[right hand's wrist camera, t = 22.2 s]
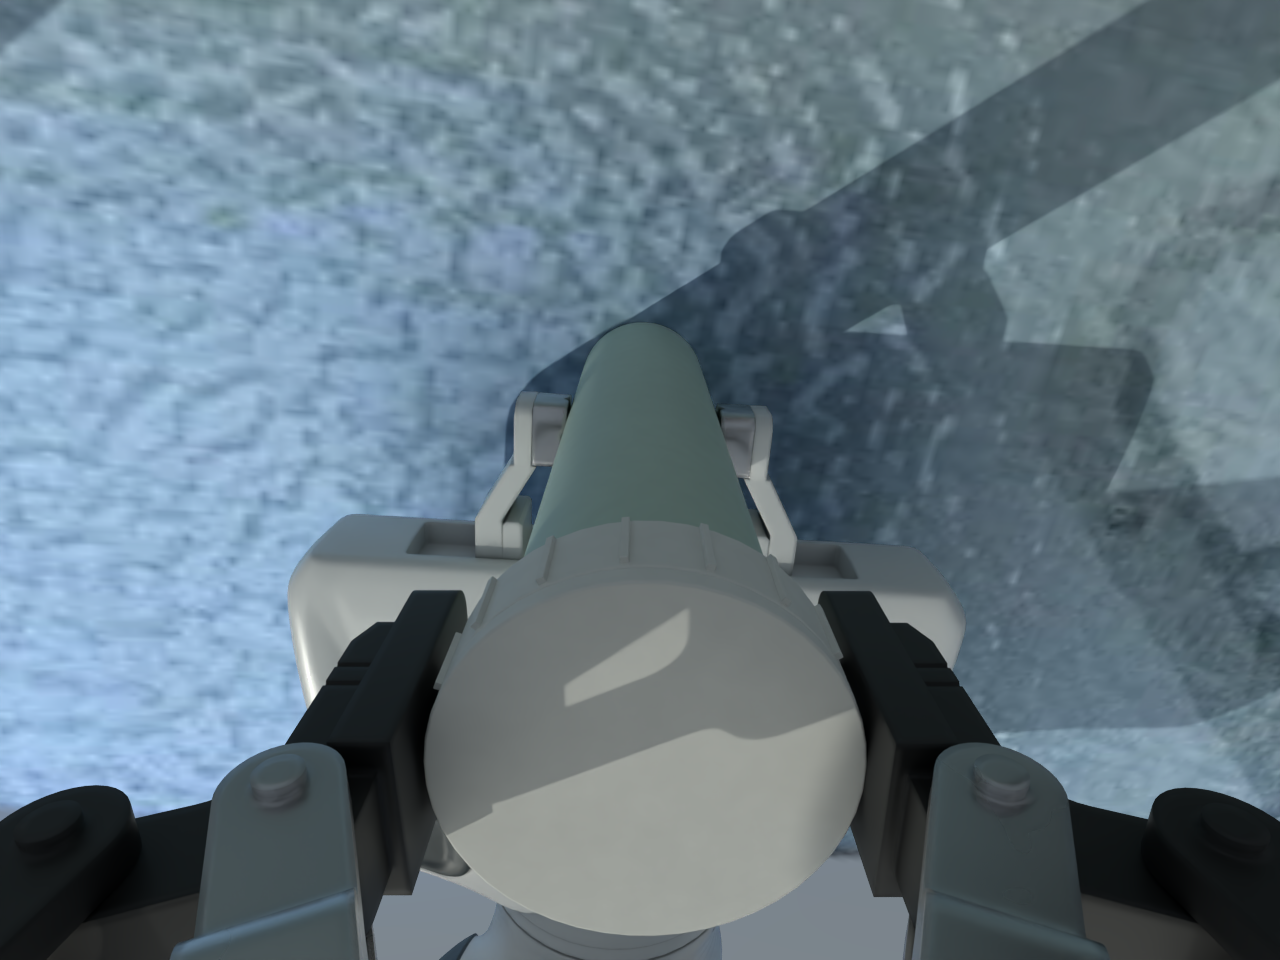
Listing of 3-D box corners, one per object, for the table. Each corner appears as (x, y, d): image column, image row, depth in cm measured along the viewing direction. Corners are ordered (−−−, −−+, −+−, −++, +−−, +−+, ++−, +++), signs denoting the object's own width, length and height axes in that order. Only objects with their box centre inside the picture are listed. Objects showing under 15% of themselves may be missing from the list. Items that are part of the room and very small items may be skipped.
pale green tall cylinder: (647, 461, 29) (657, 902, 11) (557, 387, 28) (411, 740, 10) (726, 377, 28) (881, 717, 10) (636, 296, 27) (628, 514, 9)
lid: (820, 480, 10) (854, 536, 8) (856, 813, 12) (889, 911, 10) (402, 551, 10) (359, 618, 8) (504, 863, 12) (484, 964, 10)
